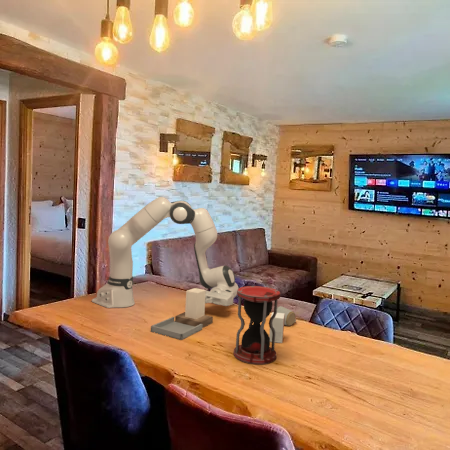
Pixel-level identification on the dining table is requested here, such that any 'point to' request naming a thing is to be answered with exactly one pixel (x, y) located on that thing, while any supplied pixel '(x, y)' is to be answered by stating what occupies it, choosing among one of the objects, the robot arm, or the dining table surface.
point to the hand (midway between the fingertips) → (203, 301)
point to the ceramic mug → (287, 315)
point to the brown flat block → (194, 320)
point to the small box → (278, 327)
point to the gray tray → (175, 329)
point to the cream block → (195, 303)
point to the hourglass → (256, 325)
